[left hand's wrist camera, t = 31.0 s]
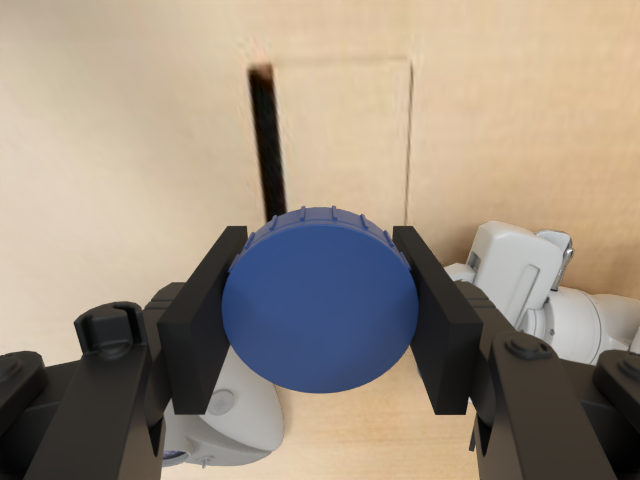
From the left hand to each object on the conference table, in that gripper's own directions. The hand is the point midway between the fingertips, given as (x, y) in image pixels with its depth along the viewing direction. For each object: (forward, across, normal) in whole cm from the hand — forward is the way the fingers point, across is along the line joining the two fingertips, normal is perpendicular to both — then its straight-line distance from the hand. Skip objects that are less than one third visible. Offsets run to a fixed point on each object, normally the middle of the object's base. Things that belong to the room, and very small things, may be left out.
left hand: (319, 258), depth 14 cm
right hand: (+19, +10, -14) cm, 25 cm away
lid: (-4, 0, 0) cm, 4 cm away
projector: (+25, -13, -29) cm, 40 cm away
